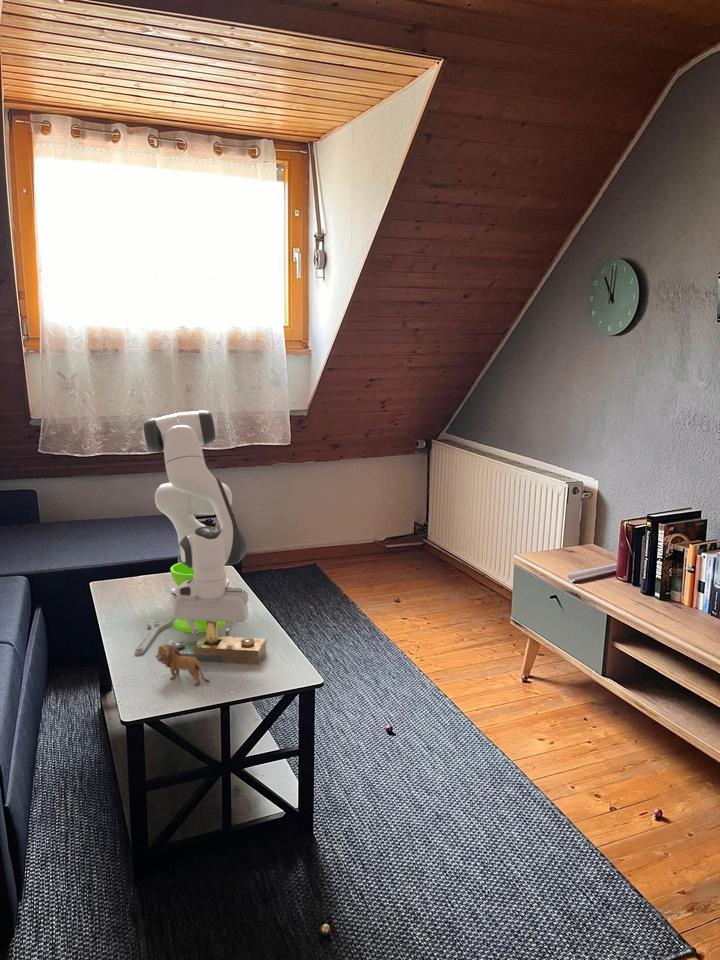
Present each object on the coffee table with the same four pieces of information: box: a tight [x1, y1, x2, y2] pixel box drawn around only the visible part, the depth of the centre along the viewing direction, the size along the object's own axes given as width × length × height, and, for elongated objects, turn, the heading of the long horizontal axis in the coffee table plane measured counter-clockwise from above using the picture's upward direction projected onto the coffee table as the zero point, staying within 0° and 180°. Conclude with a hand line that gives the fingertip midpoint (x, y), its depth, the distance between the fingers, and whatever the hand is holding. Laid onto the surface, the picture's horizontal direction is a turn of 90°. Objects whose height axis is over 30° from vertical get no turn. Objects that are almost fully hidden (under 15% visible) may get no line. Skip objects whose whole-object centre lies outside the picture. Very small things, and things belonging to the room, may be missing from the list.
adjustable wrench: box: [134, 617, 172, 656], centre depth 220 cm, size 25×6×2 cm, turn 174°
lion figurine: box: [155, 643, 211, 687], centre depth 192 cm, size 15×5×9 cm, turn 73°
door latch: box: [166, 635, 267, 666], centre depth 207 cm, size 8×28×5 cm, turn 82°
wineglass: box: [170, 562, 227, 633], centre depth 229 cm, size 16×16×18 cm
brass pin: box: [205, 621, 219, 646], centre depth 206 cm, size 3×3×10 cm
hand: (212, 634), depth 206 cm, fingers open, 8 cm apart
